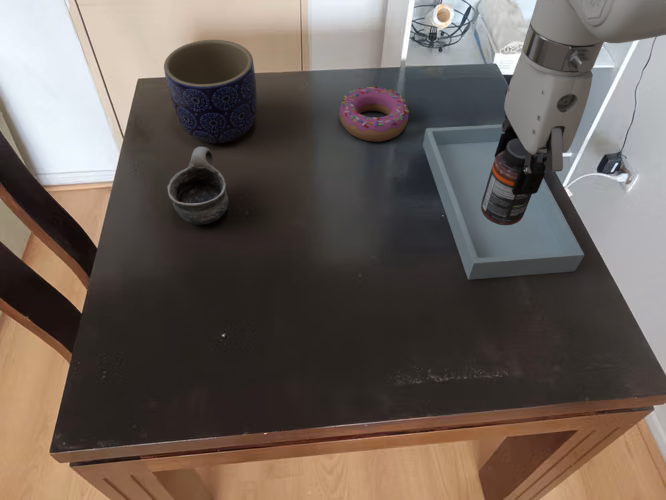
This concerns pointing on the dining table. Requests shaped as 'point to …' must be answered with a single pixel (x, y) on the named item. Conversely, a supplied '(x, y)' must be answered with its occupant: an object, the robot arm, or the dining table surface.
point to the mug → (199, 190)
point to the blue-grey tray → (480, 233)
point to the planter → (212, 89)
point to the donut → (374, 101)
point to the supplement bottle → (506, 186)
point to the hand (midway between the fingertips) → (515, 174)
